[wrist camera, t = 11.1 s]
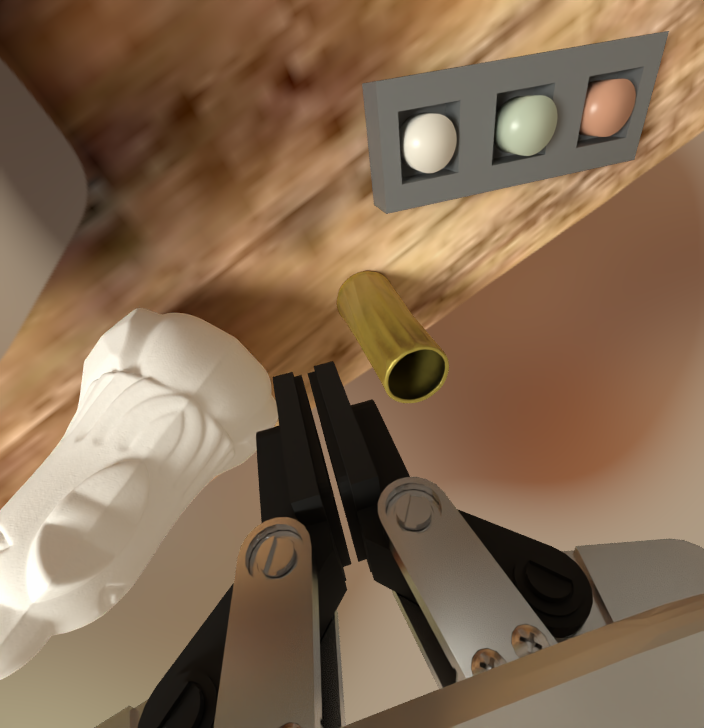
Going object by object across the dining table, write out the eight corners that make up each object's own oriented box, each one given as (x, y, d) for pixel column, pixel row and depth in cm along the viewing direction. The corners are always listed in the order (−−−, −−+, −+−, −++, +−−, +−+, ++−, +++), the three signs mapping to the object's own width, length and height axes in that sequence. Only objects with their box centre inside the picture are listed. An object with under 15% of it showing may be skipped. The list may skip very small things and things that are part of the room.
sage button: (494, 100, 30) (513, 100, 28) (539, 91, 31) (561, 91, 29) (490, 156, 33) (508, 160, 31) (532, 147, 33) (552, 150, 31)
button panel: (362, 83, 29) (375, 81, 27) (631, 37, 32) (668, 31, 30) (374, 204, 35) (386, 213, 32) (604, 155, 38) (634, 159, 35)
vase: (388, 262, 38) (453, 330, 27) (395, 315, 42) (456, 394, 30) (330, 280, 38) (372, 356, 26) (342, 331, 41) (384, 418, 30)
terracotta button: (574, 84, 32) (598, 82, 30) (615, 76, 33) (641, 74, 30) (565, 138, 34) (586, 141, 32) (603, 130, 35) (627, 132, 33)
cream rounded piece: (394, 117, 30) (407, 118, 28) (441, 108, 31) (457, 109, 28) (398, 172, 32) (409, 177, 30) (441, 164, 33) (455, 168, 31)
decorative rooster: (203, 250, 27) (-301, 663, 12) (336, 397, 34) (128, 782, 18) (102, 337, 43) (-161, 554, 28) (204, 424, 50) (37, 637, 35)
